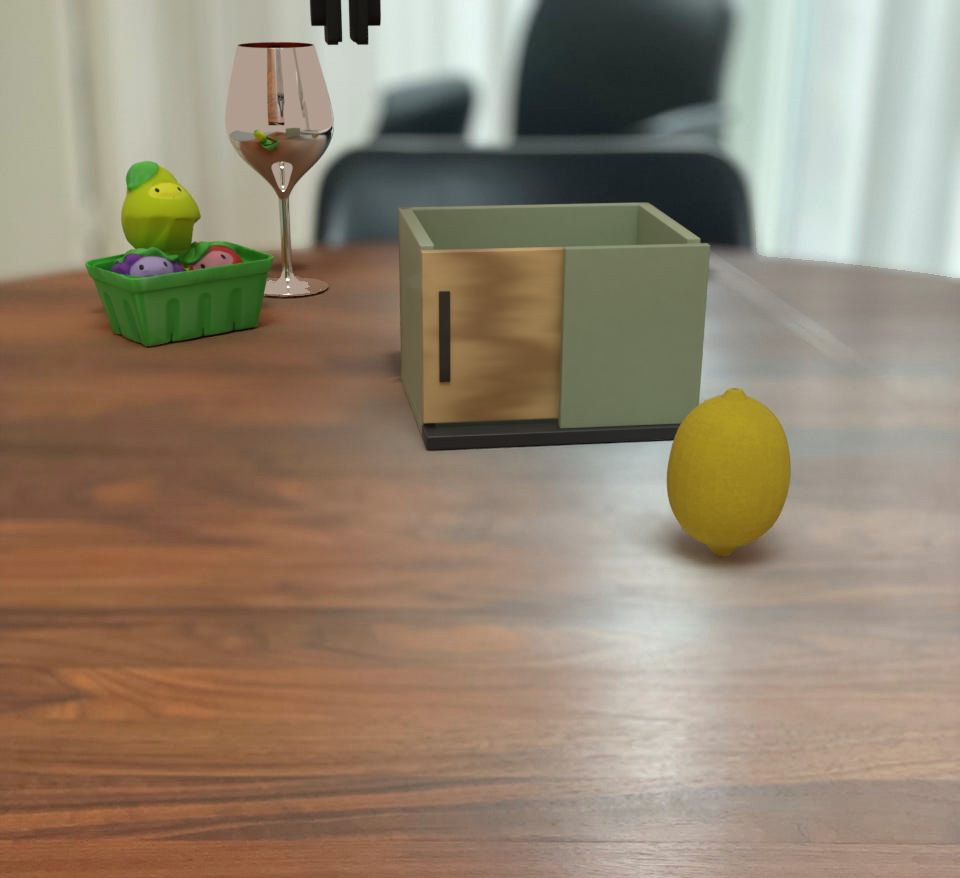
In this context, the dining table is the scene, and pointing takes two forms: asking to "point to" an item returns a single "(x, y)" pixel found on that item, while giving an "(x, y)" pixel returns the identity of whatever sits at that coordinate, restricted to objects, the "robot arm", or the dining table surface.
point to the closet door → (491, 333)
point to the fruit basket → (175, 269)
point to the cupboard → (580, 317)
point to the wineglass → (279, 126)
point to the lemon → (728, 471)
